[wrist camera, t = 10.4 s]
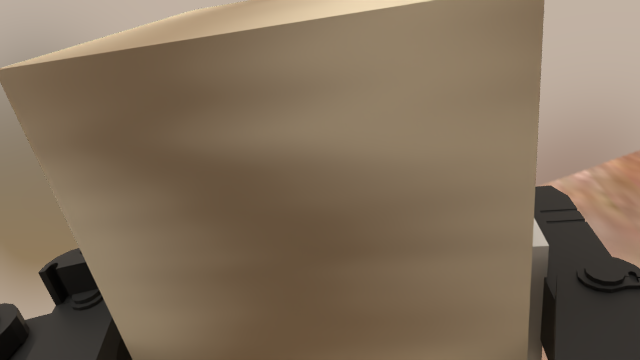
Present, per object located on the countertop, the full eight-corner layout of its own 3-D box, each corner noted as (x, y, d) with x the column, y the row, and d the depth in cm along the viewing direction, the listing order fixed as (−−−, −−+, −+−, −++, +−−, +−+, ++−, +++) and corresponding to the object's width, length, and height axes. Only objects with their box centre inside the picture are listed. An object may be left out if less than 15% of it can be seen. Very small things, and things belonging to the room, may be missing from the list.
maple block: (469, 371, 15) (458, -36, 9) (515, 612, 9) (544, -18, 4) (290, 370, 16) (193, 9, 11) (239, 584, 10) (-7, 69, 5)
